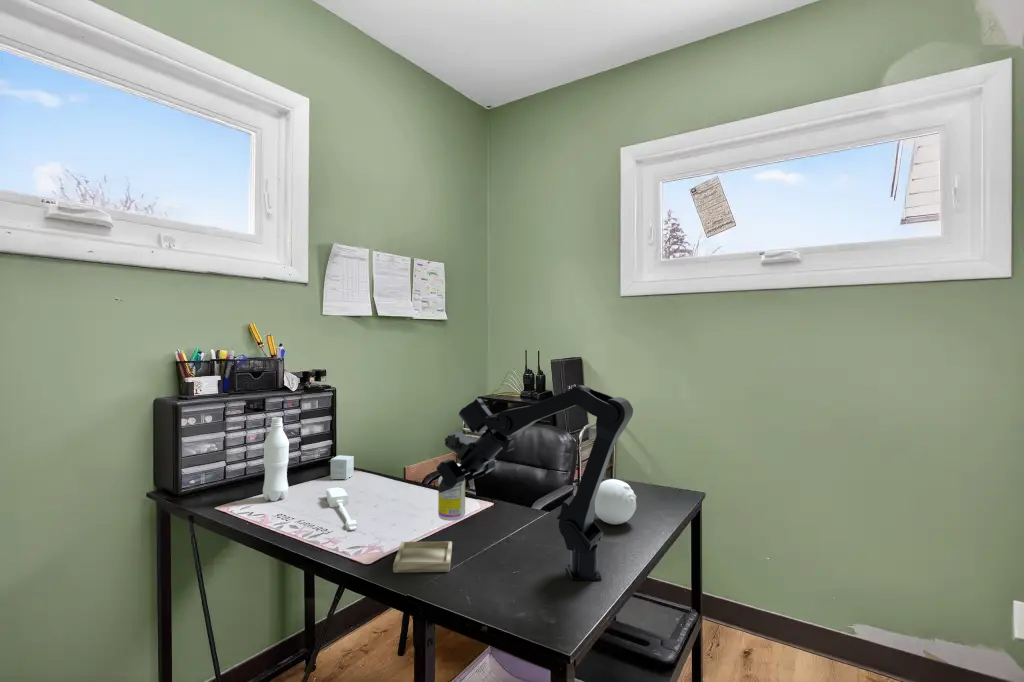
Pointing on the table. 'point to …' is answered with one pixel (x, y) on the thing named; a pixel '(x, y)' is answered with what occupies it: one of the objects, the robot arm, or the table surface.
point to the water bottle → (276, 462)
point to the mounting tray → (423, 557)
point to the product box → (342, 467)
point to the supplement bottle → (452, 502)
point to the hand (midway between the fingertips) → (447, 487)
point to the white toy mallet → (340, 504)
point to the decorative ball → (615, 502)
